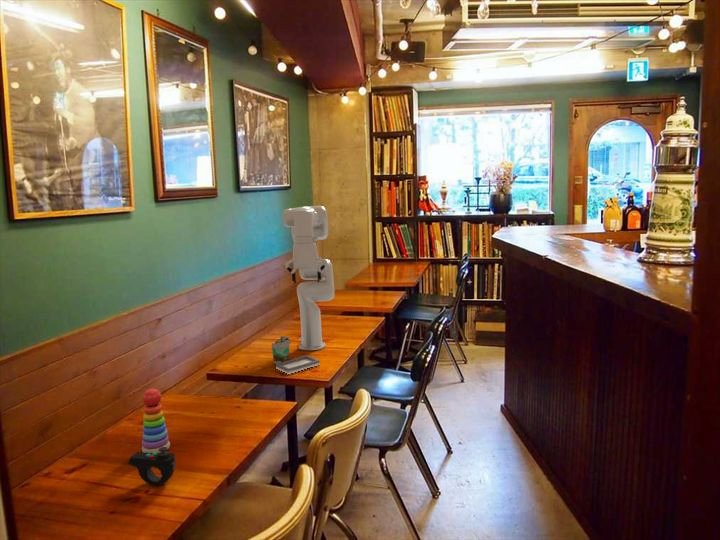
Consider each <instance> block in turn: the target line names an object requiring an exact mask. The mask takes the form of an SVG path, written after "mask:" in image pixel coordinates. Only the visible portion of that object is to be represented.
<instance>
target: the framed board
mask: <svg viewBox="0 0 720 540" xmlns="http://www.w3.org/2000/svg"><path fill="white" fill-rule="evenodd" d="M318 365H320V360H319V359H318V358H315V357H312V356H309V355H304V356H298V357H296V358H293V359H289V360H288V361H284V362H281V363H277V364H276V365H275V368H276V370H277V369H278V370H277V371H279V370H280V371H279V372H281V371H282V372H281V373H283V372H285V373H284V374H286V373H287V374H286V375H288V374H289V375H292V374H291V373H293V374H296V373H299V372H298V371H300V372H302V371H301V370H303V371H305V370H304V369H306V370H308V369H307V368H310V367H313V368H315V367H314V366H317V367H319V366H318ZM320 366H321V365H320ZM310 369H311V368H310ZM295 372H296V373H295Z"/></svg>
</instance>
